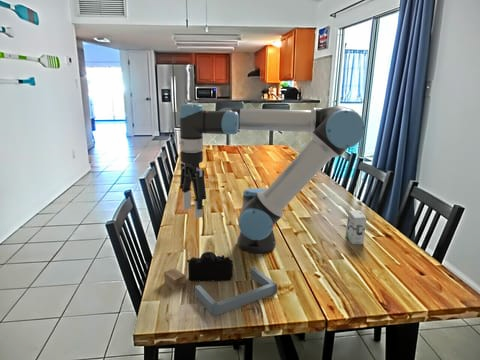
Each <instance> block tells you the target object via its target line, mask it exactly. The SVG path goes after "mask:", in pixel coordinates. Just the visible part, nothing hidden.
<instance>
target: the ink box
mask: <svg viewBox="0 0 480 360" xmlns="http://www.w3.org/2000/svg"><path fill="white" fill-rule="evenodd" d="M346 221H347V222H346V230H345V231H346V232H345V237H346V238H347V240H348V241H349V243H351V245H364V244H365V243H364V241H365V234H366V233H365V232H366V224H367V217H366V216H365V214H364V213H363V212H362V211H361V210H360V209H359V210H357V209H356V210H348V214H347V220H346Z"/></svg>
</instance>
